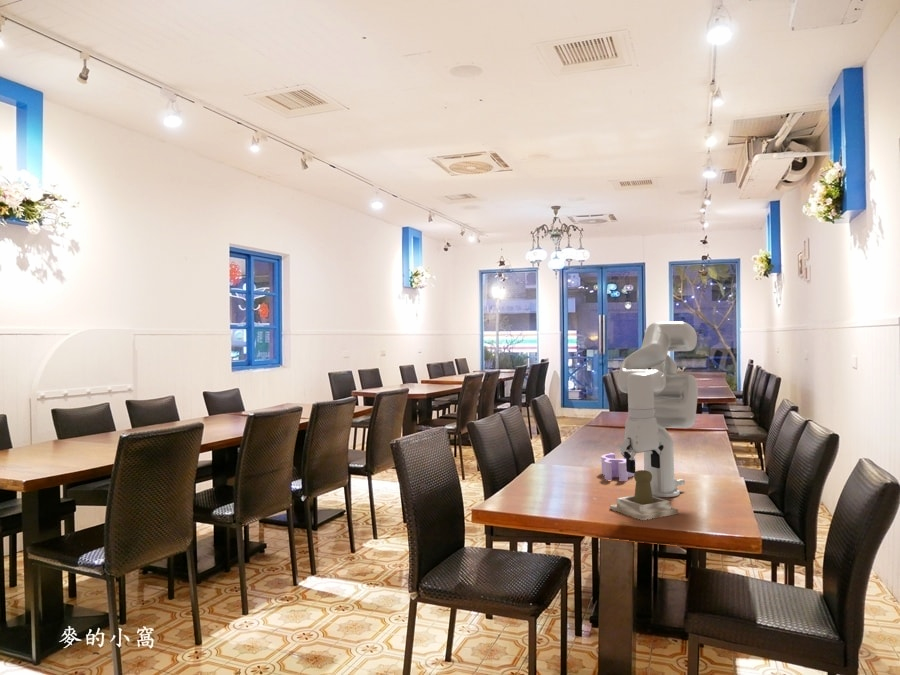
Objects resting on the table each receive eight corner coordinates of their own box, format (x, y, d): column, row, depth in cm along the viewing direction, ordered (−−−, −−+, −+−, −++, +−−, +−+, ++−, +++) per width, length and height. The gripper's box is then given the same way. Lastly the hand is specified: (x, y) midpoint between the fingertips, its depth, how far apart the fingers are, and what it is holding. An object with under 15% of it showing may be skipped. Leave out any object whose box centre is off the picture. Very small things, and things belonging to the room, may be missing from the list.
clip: (633, 482, 230) (632, 463, 230) (597, 481, 234) (597, 462, 234) (636, 471, 248) (636, 453, 249) (604, 470, 253) (603, 452, 253)
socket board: (644, 503, 201) (644, 492, 201) (678, 513, 189) (678, 501, 189) (609, 509, 195) (609, 497, 195) (642, 520, 183) (642, 508, 183)
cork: (632, 509, 190) (631, 472, 190) (634, 504, 196) (633, 468, 196) (653, 510, 188) (652, 473, 188) (654, 505, 194) (653, 469, 194)
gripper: (654, 409, 199) (655, 463, 200) (610, 415, 192) (612, 471, 192) (672, 412, 193) (674, 468, 193) (627, 418, 185) (629, 477, 186)
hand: (643, 469), depth 193 cm, fingers open, 9 cm apart
